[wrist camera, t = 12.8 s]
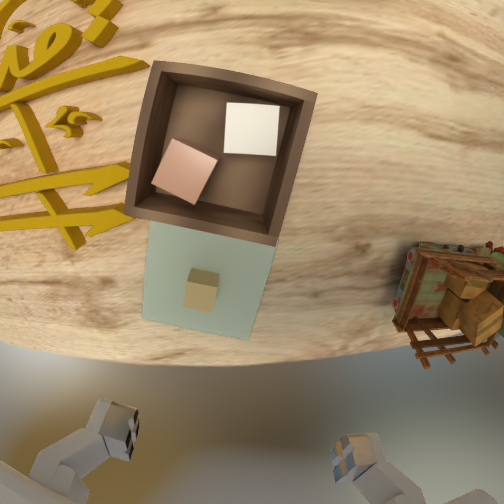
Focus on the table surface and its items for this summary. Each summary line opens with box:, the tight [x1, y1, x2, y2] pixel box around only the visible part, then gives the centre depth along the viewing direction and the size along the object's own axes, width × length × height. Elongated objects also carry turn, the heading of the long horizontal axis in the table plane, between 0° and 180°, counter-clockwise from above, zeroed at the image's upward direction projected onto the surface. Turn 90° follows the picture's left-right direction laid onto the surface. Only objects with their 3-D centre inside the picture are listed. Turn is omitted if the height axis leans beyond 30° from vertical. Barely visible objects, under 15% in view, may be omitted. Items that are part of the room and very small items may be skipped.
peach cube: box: [151, 138, 221, 205], centre depth 24 cm, size 4×4×4 cm
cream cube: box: [224, 103, 280, 156], centre depth 23 cm, size 4×4×4 cm
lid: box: [142, 220, 279, 340], centre depth 30 cm, size 13×13×4 cm
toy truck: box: [392, 241, 504, 369], centre depth 25 cm, size 11×25×15 cm, turn 85°
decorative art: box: [0, 0, 150, 250], centre depth 21 cm, size 34×3×30 cm
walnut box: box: [124, 60, 318, 247], centre depth 23 cm, size 12×12×7 cm
